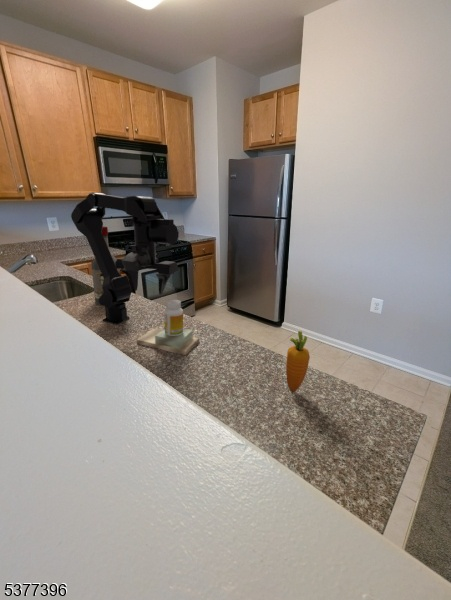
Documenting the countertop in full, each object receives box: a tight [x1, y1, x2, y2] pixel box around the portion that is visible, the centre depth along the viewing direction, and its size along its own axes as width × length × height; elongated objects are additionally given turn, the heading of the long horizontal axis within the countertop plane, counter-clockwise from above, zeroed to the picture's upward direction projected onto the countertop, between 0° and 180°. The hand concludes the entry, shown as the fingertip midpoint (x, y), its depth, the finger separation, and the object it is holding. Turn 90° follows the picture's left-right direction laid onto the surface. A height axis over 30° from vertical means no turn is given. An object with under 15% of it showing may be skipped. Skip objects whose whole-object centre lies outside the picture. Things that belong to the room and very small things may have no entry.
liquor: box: [90, 225, 120, 307], centre depth 108 cm, size 9×9×30 cm
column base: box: [136, 327, 200, 356], centre depth 82 cm, size 16×9×4 cm, turn 70°
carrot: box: [285, 330, 311, 393], centre depth 61 cm, size 5×5×15 cm
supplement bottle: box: [163, 299, 184, 336], centre depth 80 cm, size 5×5×10 cm
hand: (148, 292), depth 86 cm, fingers open, 9 cm apart
